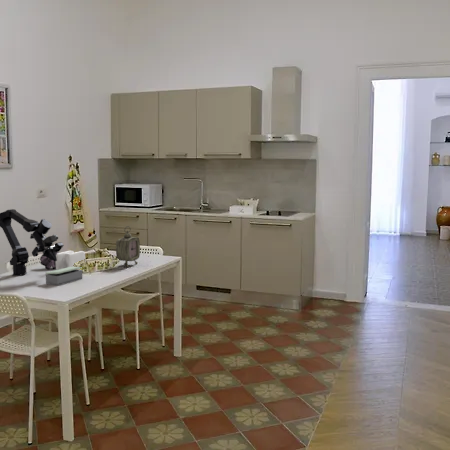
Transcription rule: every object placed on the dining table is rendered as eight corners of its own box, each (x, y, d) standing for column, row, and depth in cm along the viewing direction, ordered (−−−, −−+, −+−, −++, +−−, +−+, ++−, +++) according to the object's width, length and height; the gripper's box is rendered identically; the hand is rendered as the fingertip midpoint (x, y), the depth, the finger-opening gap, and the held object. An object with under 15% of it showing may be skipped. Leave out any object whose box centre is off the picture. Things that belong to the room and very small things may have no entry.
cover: (45, 274, 290) (45, 272, 290) (70, 268, 305) (69, 266, 305) (57, 273, 285) (57, 272, 285) (81, 267, 300) (81, 266, 300)
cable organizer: (69, 274, 314) (68, 254, 313) (55, 272, 319) (54, 253, 317) (85, 269, 328) (85, 250, 327) (72, 268, 332) (71, 249, 331)
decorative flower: (39, 255, 322) (44, 244, 336) (35, 271, 326) (40, 260, 340) (63, 260, 325) (67, 249, 339) (60, 277, 329) (63, 265, 343)
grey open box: (46, 283, 290) (45, 274, 290) (70, 277, 306) (70, 268, 305) (57, 285, 286) (57, 276, 285) (82, 279, 301) (82, 270, 301)
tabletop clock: (128, 268, 331) (127, 227, 328) (115, 267, 334) (114, 227, 331) (140, 263, 344) (139, 225, 341) (128, 262, 348) (127, 224, 344)
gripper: (34, 232, 290) (49, 254, 286) (60, 228, 306) (75, 249, 302) (25, 245, 295) (40, 267, 291) (51, 240, 311) (65, 261, 307)
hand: (55, 260), depth 298 cm, fingers closed
